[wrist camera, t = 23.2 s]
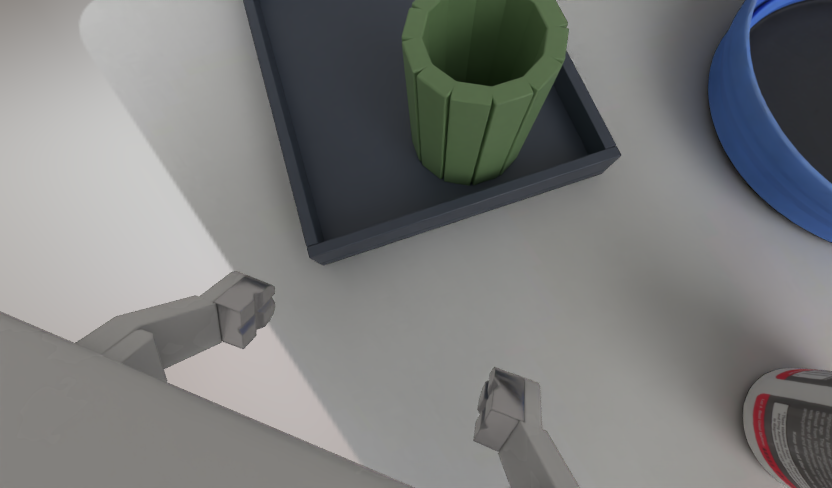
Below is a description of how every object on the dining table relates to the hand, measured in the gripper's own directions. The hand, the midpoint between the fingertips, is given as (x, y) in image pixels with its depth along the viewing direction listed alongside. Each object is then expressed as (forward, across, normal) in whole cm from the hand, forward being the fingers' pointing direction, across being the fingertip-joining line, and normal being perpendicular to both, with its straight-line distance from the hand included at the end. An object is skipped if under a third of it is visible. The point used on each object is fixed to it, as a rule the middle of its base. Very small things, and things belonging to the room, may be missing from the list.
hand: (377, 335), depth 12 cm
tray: (+15, +5, -6) cm, 17 cm away
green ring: (+12, 0, -4) cm, 13 cm away
